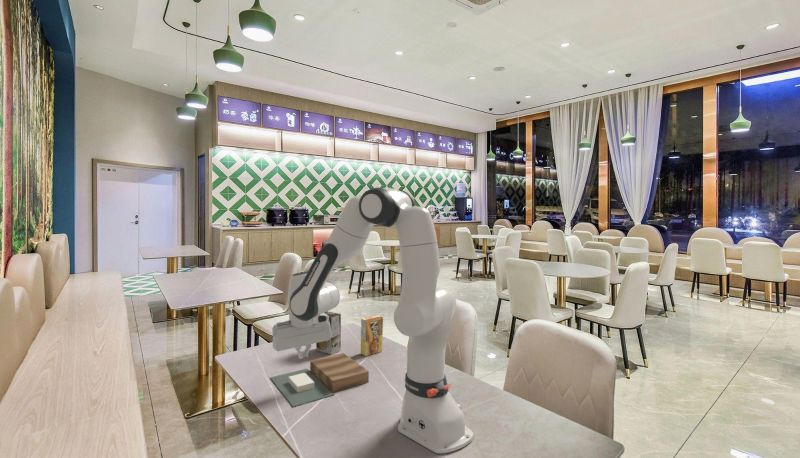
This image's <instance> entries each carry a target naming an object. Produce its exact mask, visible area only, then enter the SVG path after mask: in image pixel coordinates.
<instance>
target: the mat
mask: <svg viewBox="0 0 800 458" xmlns="http://www.w3.org/2000/svg"><path fill="white" fill-rule="evenodd" d="M301 373H306V374H307V375H308V376H309V377H310V378H311V379H312V380H313V381H314V388H312V389H309V390H305V391H301V392H297V391H296V390H295V389H294V388H293V387H292V386H291V384H290V383H289V376H293V375H297V374H301ZM269 379H270V380H271V381H272V382H273V384H274V385H275V386H276V387H277V389H278V390H279V391H280V393H281V394H282V395H283V397H285V400H287V402H288V403H289V404H290V405H291V406H292V407H293V408H296V407H298V406H302V405H305V404H308V403H312V402H316V401H320V400H323V399H326V398H329V397H333V396H335V394H334V392H332V391H331V390H330V389H329V388H328V387H327V386H326V385H325V384H324V383H322V382H321V381H320V380H319V379H318V378H317V377H316V376H315V375H314V374H313V373H312V372H311V371H310V369H308V368H304V369H300V370H296V371H295V370H294V371H291V372H286V373H283V374H279V375H275V376H271V377H270V378H269Z"/></svg>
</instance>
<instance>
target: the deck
mask: <svg viewBox="0 0 800 458" xmlns="http://www.w3.org/2000/svg"><path fill="white" fill-rule="evenodd" d="M309 363H310V364H309V367H310V368H309V371H310V372H311V373H312V374H313V375H314V376H315V377H316V378H317V379H318V380H320V381H321V382H322V383H323V384H324V385H325V386H326V387H327V388H328V389H329V390H330V391H331V392H332V393H336V392H339V391H342V390H346V389H348V388H353V387H355V386H359V385H362V384H367V383H369V382H370V381H369V375H370V373H369V372H370V371H369V370H368V369H366V368H365V367H363V365H361V364H360V363H358V362H357V361H356V360H354V359H352V358H351V357H350V356H348V355H347V354H346V353H344V352H342V353H338V354H332V355H329V356H324V357H321V358H320V357H319V358H317V359H312V360H310V362H309Z"/></svg>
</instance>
